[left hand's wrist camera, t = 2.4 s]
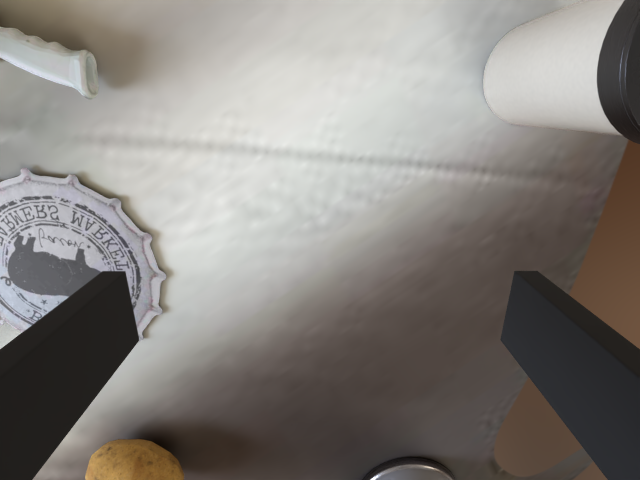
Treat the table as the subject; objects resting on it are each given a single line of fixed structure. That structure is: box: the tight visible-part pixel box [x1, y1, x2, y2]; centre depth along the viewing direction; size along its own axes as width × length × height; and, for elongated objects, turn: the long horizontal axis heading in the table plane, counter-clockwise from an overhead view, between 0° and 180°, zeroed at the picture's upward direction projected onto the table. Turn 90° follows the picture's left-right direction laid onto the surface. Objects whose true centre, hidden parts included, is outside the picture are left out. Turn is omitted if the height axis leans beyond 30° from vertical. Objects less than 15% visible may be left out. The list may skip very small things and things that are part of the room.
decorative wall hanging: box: [0, 168, 166, 341], centre depth 44 cm, size 24×1×30 cm
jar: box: [483, 0, 624, 136], centre depth 27 cm, size 9×9×18 cm
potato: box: [85, 439, 184, 480], centre depth 49 cm, size 9×13×7 cm
